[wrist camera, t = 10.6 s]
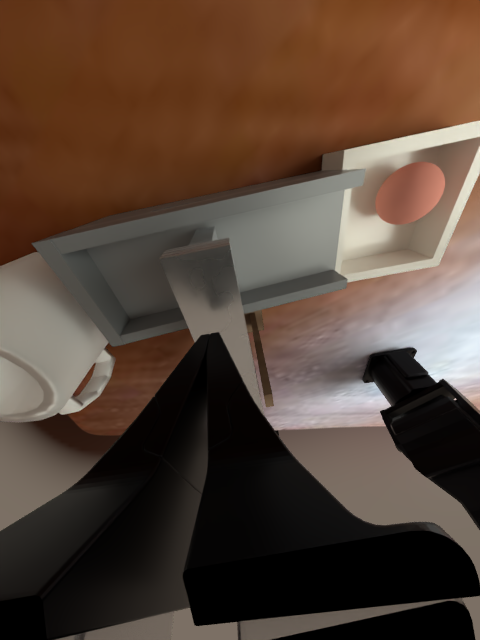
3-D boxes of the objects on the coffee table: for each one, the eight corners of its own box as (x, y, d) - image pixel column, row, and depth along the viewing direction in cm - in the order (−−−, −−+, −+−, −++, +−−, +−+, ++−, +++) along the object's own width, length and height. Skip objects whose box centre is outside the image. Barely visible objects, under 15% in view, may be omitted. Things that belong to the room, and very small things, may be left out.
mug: (157, 342, 26) (124, 427, 17) (88, 360, 27) (24, 447, 18) (81, 236, 18) (-51, 295, 9) (-13, 267, 19) (-210, 345, 10)
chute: (317, 261, 20) (361, 302, 14) (146, 293, 21) (112, 346, 15) (323, 170, 16) (392, 167, 9) (106, 216, 17) (31, 243, 10)
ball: (402, 225, 14) (361, 229, 17) (452, 218, 14) (401, 223, 18) (415, 153, 12) (366, 174, 16) (470, 149, 13) (410, 170, 16)
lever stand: (263, 325, 25) (284, 412, 16) (213, 334, 25) (207, 424, 16) (259, 298, 23) (282, 382, 14) (204, 308, 23) (191, 396, 14)
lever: (271, 404, 26) (281, 455, 21) (233, 410, 26) (234, 462, 21) (243, 216, 12) (254, 243, 8) (166, 232, 13) (132, 267, 8)
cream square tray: (409, 253, 21) (438, 265, 18) (315, 270, 21) (329, 285, 18) (451, 126, 15) (504, 115, 12) (322, 154, 15) (344, 150, 13)
